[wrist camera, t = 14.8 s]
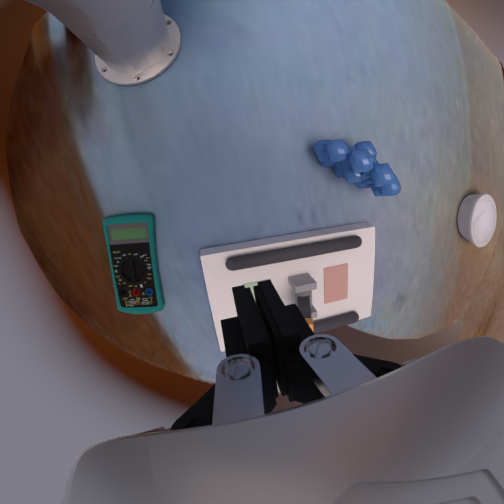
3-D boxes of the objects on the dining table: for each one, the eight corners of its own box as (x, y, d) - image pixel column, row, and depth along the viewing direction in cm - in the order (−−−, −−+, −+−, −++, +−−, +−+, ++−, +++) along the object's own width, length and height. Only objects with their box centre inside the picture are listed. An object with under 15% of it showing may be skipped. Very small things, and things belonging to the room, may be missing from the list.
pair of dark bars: (224, 256, 37) (225, 261, 36) (358, 233, 40) (364, 236, 38) (239, 345, 42) (241, 352, 41) (355, 317, 45) (360, 323, 43)
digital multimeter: (122, 307, 41) (117, 316, 38) (106, 214, 36) (100, 218, 33) (165, 306, 42) (164, 315, 39) (155, 210, 37) (151, 214, 35)
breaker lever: (294, 285, 40) (294, 322, 31) (311, 284, 40) (315, 321, 31) (295, 303, 41) (295, 343, 32) (311, 302, 41) (315, 341, 32)
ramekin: (461, 182, 44) (480, 186, 39) (484, 200, 47) (501, 205, 42) (447, 232, 47) (465, 239, 42) (471, 245, 50) (487, 252, 45)
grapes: (376, 163, 40) (427, 169, 29) (357, 199, 41) (405, 214, 30) (318, 121, 37) (361, 109, 25) (297, 159, 38) (334, 160, 27)
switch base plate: (200, 249, 40) (200, 265, 34) (365, 222, 43) (387, 232, 37) (219, 340, 45) (222, 365, 39) (362, 308, 48) (380, 326, 42)
